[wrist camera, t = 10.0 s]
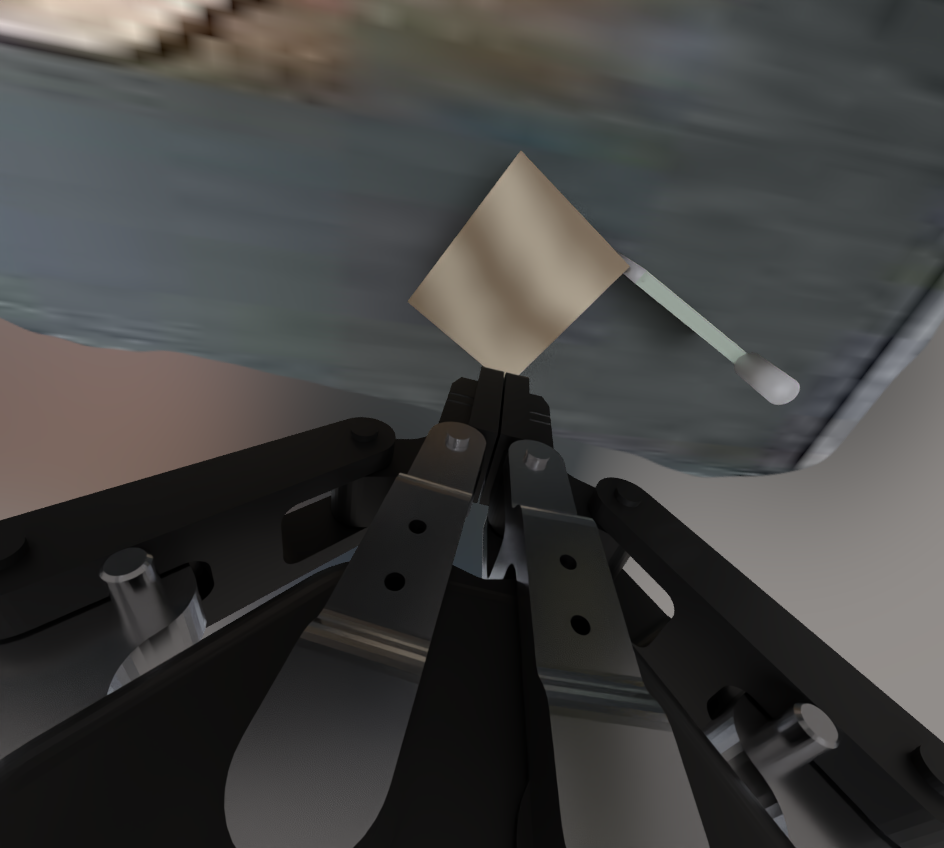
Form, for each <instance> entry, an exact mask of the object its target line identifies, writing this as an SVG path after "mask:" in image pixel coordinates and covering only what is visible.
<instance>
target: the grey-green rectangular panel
mask: <svg viewBox="0 0 944 848" xmlns="http://www.w3.org/2000/svg"><path fill="white" fill-rule="evenodd" d="M614 250H615V249H614ZM615 251H616V250H615ZM616 252H617V253H618V254H619V255H620V256H621V257H622V259H623V260H624V261H625V262H626V263H627V264H628V265H629V266H630V267H629V268H628V269H627V270H626V271H625V272H624V273H623V274H624V275H626V276H627V277H628V278H629V279H630V280H632V281H633V282H634V283H635V284H636V285H638V286H639V287H640V288H641V289H643V290H644V291H645V292H646V293H648V294H649V295H650V296H651V297H652V298H654V299H655V300H656V301H657V302H659V303H660V304H661V305H662V306H664V307H665V308H666V309H667V310H669V311H670V312H671V313H672V314H674V315H675V316H676V317H677V318H678V319H680V320H681V321H682V322H683V323H685V324H686V325H687V326H688V327H690V328H691V329H692V330H693V331H695V332H696V333H697V334H698V335H699V336H701V337H702V338H703V339H704V340H706V341H707V342H708V343H709V344H711V345H712V346H713V347H714V348H716V349H717V350H718V351H719V352H721V353H722V354H723V355H724V356H725V357H727V358H728V359H729V360H730V361H732V362H733V363H734V364H735V365H734V370H735V372H736V373H737V374H738V375H739V376H740V377H741V378H742V379H744V380H745V381H746V382H747V383H748V384H749V385H751V386H752V387H753V388H754V389H755V390H756V391H757V392H759V393H760V394H761V395H762V396H763V397H764V398H766V399H767V400H768V401H769V402H770V403H772V404H775V405H782V404H786V403H788V402H790V401H792V400H793V399H794V398H795V397H796V396H797V395H798V393H799V390H800V386H799V383H798V382H797V381H796V380H794V379H793V378H791V377H790V376H789V375H787V374H786V373H784V372H783V371H781V370H780V369H779V368H777V367H776V366H774V365H773V364H771V363H770V362H769V361H767V360H766V359H764V358H763V357H761V356H760V355H759V354H757V353H746V352H745V351H744V350H742V349H741V348H740V347H739V346H738V345H736V344H735V343H734V342H733V341H731V340H730V339H729V338H728V337H727V336H725V335H724V334H723V333H722V332H721V331H719V330H718V329H717V328H716V327H714V326H713V325H712V324H711V323H710V322H708V321H707V320H706V319H705V318H704V317H702V316H701V315H700V314H699V313H697V312H696V311H695V310H694V309H693V308H691V307H690V306H689V305H688V304H687V303H685V302H684V301H683V300H682V299H680V298H679V297H678V296H677V295H676V294H674V293H673V292H672V291H671V290H670V289H668V288H667V287H666V286H665V285H664V284H662V283H661V282H660V281H659V280H657V279H656V278H655V277H654V276H653V275H651V274H650V273H649V272H648V271H647V270H645V269H644V268H642V267H641V266H639V265H638V264H636V263H635V262H633V261H632V260H630V259H629V258H627V257H625V256H624V255H622V254H621V253H619V252H618V251H616Z"/></svg>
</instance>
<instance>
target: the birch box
mask: <svg viewBox="0 0 944 848" xmlns="http://www.w3.org/2000/svg"><path fill="white" fill-rule="evenodd" d="M629 267H630V266H629V265H628V264H627V263H626V262H625V261H624V260H623V259H622V257H621V256H620V255H619V254H618V253H617V252H616V251H615V250H614V249H613V248H612V247H611V246H610V245H609V244H608V243H607V242H606V240H605V239H604V238H603V237H602V236H601V235H600V234H599V233H598V232H597V231H596V230H595V229H594V228H593V227H592V226H591V224H590V223H589V222H588V221H587V220H586V219H585V218H584V217H583V216H582V215H581V214H580V213H579V212H578V211H577V210H576V209H575V207H574V206H573V205H572V204H571V203H570V202H569V201H568V200H567V199H566V198H565V197H564V196H563V195H562V194H561V193H560V192H559V190H558V189H557V188H556V187H555V186H554V185H553V184H552V183H551V182H550V181H549V180H548V179H547V178H546V177H545V176H544V175H543V173H542V172H541V171H540V170H539V169H538V168H537V167H536V166H535V165H534V164H533V163H532V162H531V161H530V160H529V159H528V158H527V156H526V155H525V154H524V153H523V152H522V151H520V152H519V154H518V155H517V156H516V158H515V159H514V160H513V162H512V163H511V164H510V166H509V167H508V168H507V170H506V171H505V172H504V174H503V175H502V176H501V178H500V179H499V180H498V182H497V183H496V184H495V186H494V187H493V188H492V190H491V191H490V192H489V194H488V195H487V196H486V198H485V199H484V200H483V202H482V203H481V204H480V206H479V207H478V208H477V210H476V211H475V212H474V214H473V215H472V216H471V218H470V219H469V220H468V222H467V223H466V224H465V226H464V227H463V228H462V230H461V231H460V232H459V234H458V235H457V236H456V238H455V239H454V240H453V242H452V243H451V244H450V246H449V247H448V248H447V250H446V251H445V252H444V254H443V255H442V256H441V258H440V259H439V260H438V262H437V263H436V264H435V266H434V267H433V268H432V270H431V271H430V272H429V274H428V275H427V276H426V278H425V279H424V280H423V282H422V283H421V284H420V286H419V287H418V288H417V290H416V291H415V292H414V294H413V295H412V296H411V298H410V299H409V300H408V302H409V303H410V304H411V305H412V306H413V307H414V308H416V309H417V310H418V311H419V312H420V313H422V314H423V315H424V316H425V317H426V318H427V319H429V320H430V321H431V322H432V323H433V324H435V325H436V326H437V327H438V328H439V329H440V330H442V331H443V332H444V333H445V334H446V335H448V336H449V337H450V338H451V339H452V340H453V341H455V342H456V343H457V344H458V345H459V346H461V347H462V348H463V349H464V350H465V351H467V352H468V353H469V354H470V355H471V356H472V357H474V358H475V359H476V360H477V361H478V362H480V363H481V364H482V365H483V366H484V367H487V368H491V369H495V370H499V371H503V372H504V376H505V374H506V372H508V373H512V374H516V375H519V374H520V373H521V372H522V371H523V370H524V369H525V368H526V367H527V366H528V365H530V364H531V363H532V362H533V361H534V360H535V359H536V358H537V357H538V356H539V355H540V354H541V353H542V352H543V351H544V350H545V349H546V348H547V347H548V346H549V345H550V344H551V343H552V342H553V341H554V340H555V339H556V338H557V337H558V336H559V335H560V334H561V333H562V332H563V331H564V330H565V329H566V328H567V327H568V326H569V325H570V324H571V323H573V322H574V321H575V320H576V319H577V318H578V317H579V316H580V315H581V314H582V313H583V312H584V311H585V310H586V309H587V308H588V307H589V306H590V305H591V304H592V303H593V302H594V301H595V300H596V299H597V298H598V297H599V296H600V295H601V294H602V293H603V292H604V291H605V290H606V289H607V288H608V287H609V286H610V285H611V284H612V283H613V282H614V281H616V280H617V279H618V278H619V277H620V276H621V275H622V274H623V273H624V272H625V271H626V270H627V269H628V268H629Z"/></svg>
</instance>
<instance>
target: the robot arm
mask: <svg viewBox="0 0 944 848" xmlns="http://www.w3.org/2000/svg"><path fill="white" fill-rule="evenodd" d="M481 488H482V489H481ZM328 491H331V496H329V497H327V498H324V499H322V500H319V501H317V502H315V503H312V504H310V505H307V506H305V507H303V508H300V509H298V510H296V511H293V512H291V513H289V514H286V512H287V511H288V510H289V509H291V508H292V507H294V506H295V505H297V504H299V503H301V502H304V501H306V500H308V499H311V498H313V497H316V496H318V495H321V494H323V493H326V492H328ZM480 492H481V497H480V504H483V505H488V506H489V509H488V514H487V517H486V521H485V524H484V527H483V555H482V578H479V577H476V576H474V575H472V574H470V573H468V572H466V571H464V570H462V569H460V568H458V567H456V566H453V565H452V564H453V561H454V557H455V554H456V550H457V546H458V543H459V539H460V536H461V532H462V528H463V525H464V522H465V518H466V517H467V516H468V514H469V512H470V509H471V505H472V502H474V503H477V502H478V498H479V495H480ZM285 514H286V515H285ZM358 545H359V546H358ZM356 546H358V548H357V549H356V551H355V553H354V555H353V557H352V558H351V560H350V561H349V562H345V563H341V564H338V565H335V566H331V567H329V568H326V569H324V570H322V571H320V572H317V573H315V574H313V575H312V576H310V577H308V578H306V579H305V580H303V581H301V582H299V583H298V584H296V585H294V586H293V587H291V588H289V589H288V590H286V591H284V592H282V593H281V594H279V595H277V596H276V597H274V598H272V599H271V600H269V601H267V602H265V603H264V604H262V605H260V606H259V607H257V608H255V609H254V610H252V611H250V612H248V613H247V614H245V615H243V616H242V617H240V618H238V619H236V620H235V621H233V622H231V623H230V624H228V625H226V626H225V627H223V628H221V629H220V630H218V631H216V632H214V633H213V634H211V635H209V636H207V637H206V638H204V639H202V640H201V638H202V636H203V634H204V631H205V628H206V627H208V626H210V625H212V624H214V623H216V622H218V621H219V620H221V619H223V618H225V617H227V616H228V615H231V614H232V613H234V612H236V611H238V610H240V609H242V608H244V607H245V606H247V605H249V604H251V603H253V602H255V601H256V600H258V599H260V598H262V597H264V596H265V595H268V594H269V593H271V592H273V591H275V590H277V589H279V588H281V587H282V586H284V585H286V584H288V583H290V582H292V581H294V580H295V579H297V578H299V577H301V576H303V575H304V574H306V573H308V572H310V571H312V570H314V569H316V568H318V567H319V566H321V565H323V564H325V563H327V562H329V561H330V560H332V559H334V558H336V557H338V556H340V555H342V554H344V553H345V552H347V551H349V550H351V549H353V548H355V547H356ZM630 556H631V557H632V558H633V559H634V560H635V561H636V562H637V563H638V564H639V565H640V566H641V567H642V568H643V569H644V570H645V571H646V572H647V573H648V574H649V575H650V576H651V577H652V578H653V579H654V580H655V581H656V582H657V583H658V584H659V585H660V586H661V587H662V588H663V589H664V590H665V591H666V592H667V593H668V595H669V596H670V597H671V600H672V601H673V604H674V610H675V611H674V616H673V617H672V618H670V617H669V616H667V615H666V614H665V613H664V612H663V611H662V610H661V609H660V608H659V607H658V605H657V604H656V603H655V602H654V601H653V600H652V599H651V598H650V597H649V596H648V595H647V594H646V593H645V592H644V591H643V590H642V589H641V588H640V587H639V586H638V585H637V583H635V581H634V580H633V579H632V578H631V577H630V576H629V575H628V574H627V573H626V572H625V571H624V570H623V569H622V568H623V566H624V565H625V563H626V562H627V560H628V558H629V557H630ZM200 640H201V641H200ZM0 848H944V743H943V742H942V741H941V740H940V739H939V738H937V737H936V736H935V735H934V734H932V732H930V731H929V730H928V729H926V727H924V726H923V725H922V724H921V723H920V722H918V721H917V720H916V719H915V718H914V717H913V716H911V715H910V714H909V713H908V712H907V711H905V710H904V709H903V708H902V707H901V706H899V705H898V704H897V703H896V702H895V701H893V700H892V699H891V698H890V697H889V696H887V695H886V694H885V693H884V692H883V691H882V690H880V689H879V688H878V687H877V686H875V685H874V684H873V683H872V682H871V681H870V680H869V679H867V678H866V677H865V676H864V675H863V674H861V673H860V672H859V671H858V670H856V668H854V667H853V666H852V665H851V664H850V663H848V662H847V661H846V660H845V659H844V658H842V657H841V656H840V655H839V654H838V653H837V652H835V651H834V650H833V649H832V648H831V647H829V646H828V645H827V644H826V643H825V642H823V641H822V640H821V639H820V638H819V637H817V636H816V635H815V634H814V633H813V632H811V631H810V630H809V629H808V628H807V627H806V626H804V625H803V624H802V623H801V622H800V621H799V620H797V619H796V618H795V617H794V616H793V615H791V614H790V613H789V612H788V611H787V610H785V609H784V608H783V607H782V606H780V605H779V604H778V603H777V602H776V601H775V600H774V599H772V598H771V597H770V596H769V595H768V594H766V593H765V592H764V591H763V590H761V588H759V587H758V586H757V585H756V584H755V583H753V582H752V581H751V580H750V579H749V578H747V577H746V576H745V575H744V574H743V573H741V572H740V571H739V570H738V569H737V568H736V567H734V566H733V565H732V564H731V563H730V562H728V561H727V560H726V559H725V558H724V557H723V556H721V555H720V554H719V553H718V552H717V551H715V550H714V549H713V548H712V547H711V546H709V545H708V544H707V543H706V542H705V541H703V540H702V539H701V538H700V537H699V536H698V535H696V534H695V533H694V532H693V531H692V530H690V529H689V528H688V527H687V526H686V525H684V524H683V523H682V522H681V521H680V520H678V519H677V518H676V517H675V516H674V515H673V514H671V513H670V512H669V511H668V510H667V509H666V508H664V507H663V506H662V505H661V504H660V503H658V502H657V501H656V500H655V499H654V498H652V497H651V496H650V495H649V494H648V493H646V492H645V491H644V490H643V489H641V488H640V487H638V486H637V485H635V484H633V483H631V482H628V481H626V480H623V479H619V478H604V479H602V480H600V481H599V482H598V484H597V486H596V488H595V487H592V486H590V485H588V484H586V483H584V482H582V481H580V480H578V479H576V478H574V477H572V476H571V475H569V474H568V473H567V472H566V467H565V463H564V460H563V458H562V457H561V455H560V454H559V453H558V452H557V451H556V450H554V448H553V439H552V429H551V419H550V409H549V406H548V404H547V403H546V402H545V400H544V399H543V398H542V397H541V396H537V395H533V394H529V378H528V377H524V376H520V375H516V374H512V373H508V372H506V374H505V376H504V372H503V371H499V370H495V369H491V368H487V367H483V366H482V368H481V372H480V376H479V380H478V381H475V380H471V379H467V378H463V377H461V378H460V379H458V380H457V381H455V382H454V383H452V386H451V389H450V392H449V395H448V398H447V401H446V403H445V406H444V409H443V412H442V415H441V418H440V421H439V423H438V424H437V425H435V426H433V427H432V428H431V430H430V431H429V433H428V435H427V436H426V437H423V438H419V439H395V432H394V431H393V429H392V428H391V427H390V426H389V425H387V424H386V423H384V422H382V421H379V420H376V419H373V418H364V417H358V418H350V419H347V420H343V421H339V422H336V423H333V424H329V425H326V426H322V427H319V428H316V429H312V430H309V431H305V432H302V433H298V434H295V435H291V436H288V437H285V438H282V439H278V440H275V441H271V442H267V443H264V444H261V445H257V446H254V447H251V448H247V449H244V450H240V451H237V452H233V453H230V454H226V455H223V456H219V457H216V458H213V459H209V460H206V461H203V462H199V463H196V464H192V465H189V466H185V467H182V468H178V469H175V470H172V471H168V472H165V473H162V474H158V475H154V476H151V477H148V478H144V479H141V480H138V481H134V482H130V483H127V484H123V485H120V486H117V487H114V488H110V489H106V490H103V491H99V492H97V493H93V494H89V495H86V496H83V497H79V498H76V499H72V500H69V501H66V502H62V503H59V504H55V505H52V506H48V507H45V508H41V509H38V510H34V511H31V512H27V513H24V514H21V515H18V516H14V517H11V518H7V519H3V520H0Z"/></svg>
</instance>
